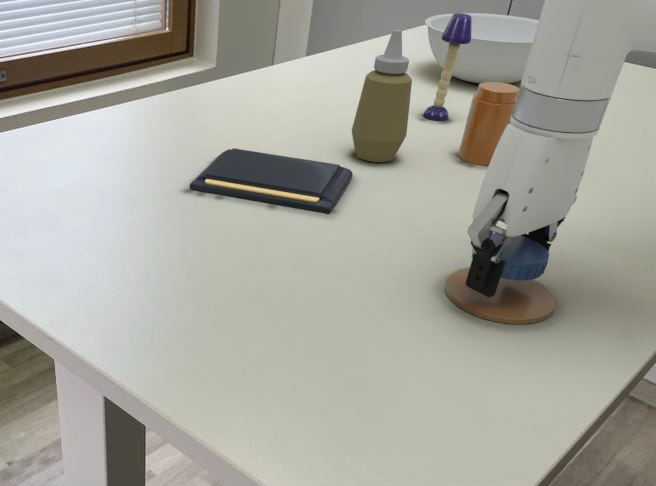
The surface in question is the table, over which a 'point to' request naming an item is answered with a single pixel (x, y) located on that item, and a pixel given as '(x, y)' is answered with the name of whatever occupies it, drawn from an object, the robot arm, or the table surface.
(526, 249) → the lid
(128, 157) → the table surface
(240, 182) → the wallet
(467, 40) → the toy lamp
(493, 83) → the jar
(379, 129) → the squeeze bottle
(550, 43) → the robot arm
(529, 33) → the bowl
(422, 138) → the table surface
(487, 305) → the coaster
